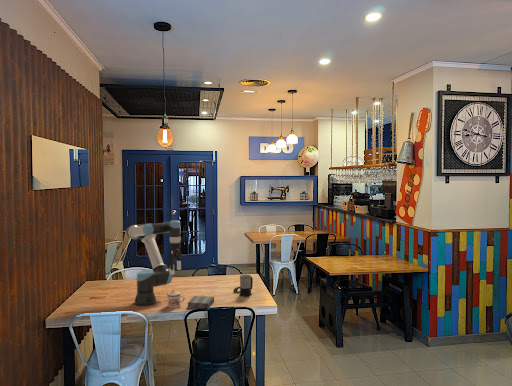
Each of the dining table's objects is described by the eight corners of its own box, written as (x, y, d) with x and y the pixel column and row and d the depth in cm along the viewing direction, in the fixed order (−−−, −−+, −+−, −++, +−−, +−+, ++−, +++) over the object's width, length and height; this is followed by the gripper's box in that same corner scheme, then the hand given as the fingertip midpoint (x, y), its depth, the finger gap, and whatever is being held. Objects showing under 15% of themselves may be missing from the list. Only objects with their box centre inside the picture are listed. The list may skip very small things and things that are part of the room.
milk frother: (249, 297, 285) (249, 278, 285) (230, 295, 289) (230, 277, 288) (253, 291, 299) (253, 273, 299) (234, 290, 302) (234, 272, 302)
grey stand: (187, 308, 261) (187, 302, 261) (194, 301, 276) (194, 295, 276) (208, 309, 259) (208, 303, 259) (214, 302, 274) (214, 296, 274)
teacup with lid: (167, 308, 261) (166, 292, 260) (167, 304, 270) (167, 288, 269) (184, 307, 263) (184, 291, 263) (184, 303, 272) (184, 287, 272)
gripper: (174, 245, 252) (174, 276, 253) (186, 239, 277) (186, 267, 277) (163, 245, 253) (164, 276, 254) (176, 239, 278) (176, 267, 278)
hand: (175, 271), depth 266 cm, fingers open, 13 cm apart
